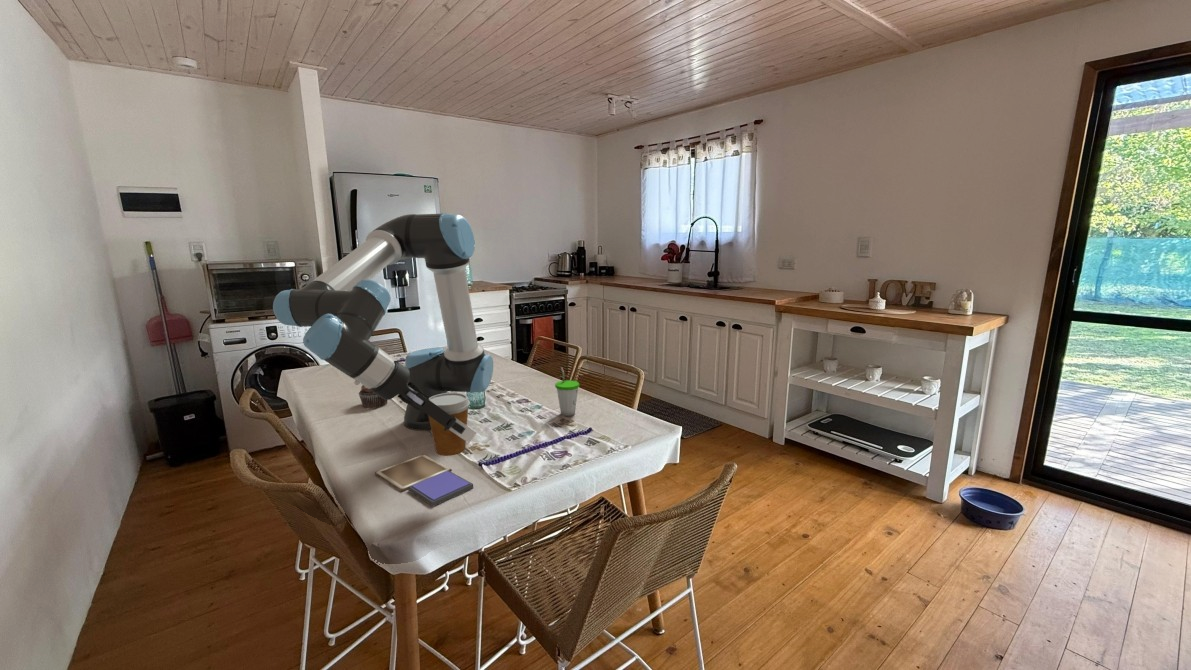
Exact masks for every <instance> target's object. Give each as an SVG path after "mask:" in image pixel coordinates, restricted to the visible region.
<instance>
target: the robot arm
mask: <svg viewBox="0 0 1191 670" xmlns="http://www.w3.org/2000/svg"><path fill="white" fill-rule="evenodd" d="M471 226H472V225H470V223H469V221H468V220H467V219H466V218H465V216H462V215H460V214H455V213H454V214H453V213H452V214H451V213H447V212H446V213H424V214H423V213H422V214H421V213H420V214H413V213H411V214H403V215H400V216H397V217H396V218H393V219H390V220H389V221H386V222H384V223H383V224H380V225H379V226H378V227H376V228H374V229H373V230H372V231H370V232H369V233H368V234H367V235H366V239H365V241H364V242H363V243H361V244H359V246H357V247H356V248H355V249H353V250H352V251H351V252H349V253H347V254H346V256H344V257H343V258H342V259H341V258H340V260H338V261H337V262H336V263H334V264H333V265H332V266H330V268H328V269H326V270H325V271H323V273H321V274H320V275H318V276H317V277H316V278H314V279H313V280H311V281H310V282H308V283H307V284H305V285H304V286H303V287H301V288H300V289H296V288H291V289H286V290H285V289H284V290H282V291H280V292H279V293H277V294H276V296H275V297H274V300H273V304H272V310H273V311H272V312H273V314H274V316H275V317H276V320H277V321H278V322H279V323H280V324H282V325H285V326H290V327H291V326H294V327H299V328H303V327H305V328H306V327H309V328H308V329H307V331H306V332H305V334H304V335H303V339H302V343H303V345H304V347H305V348H306V349H308V350H309V351H310V352H311V353H312V354H314V355H316V357H318V358H319V359H320V360H322V361H324V362H326V363H328V364H329V365H331V366H332V367H334V368H336V369H337V370H338V371H340V372H342V373H343V374H344V375H346V376H348V377H350V378H352V379H353V380H354V382H353V384H354V385H356V386H358V385H360V384H361V386H362V385H363V386H365V387H366V388H368V389H370V388H371V390H372V392H373V393H375V394H377V395H378V396H380V397H381V398H383V399H384V400H387V401H388V400H392V399H394V398H395V397H397V398H399V399H400V401H402V402H404V403H405V404H407V405H406V409H405V412H404V417H403V420H404V421H403V422H404V423H403V424H404V426H405V428H407V429H410V430H414V431H415V430H417V431H427V430H431V426H430V421H429V416H430V417H432V418H433V419H435V420H436V421H437V422H439V423H440V424H442V425H443V426H445V429H444V431H447V430H448V429H449V430H450V431H452V432H453V433H455V434H456V435H458V436H459V437H461V438H462V439H464V440H465V441H466V442H467V443H468V444H470V442H471V441H472V440H473V439H474V437H475V436H476V435H477V431H475V430H474V429H472V428H471V427H470V426H469V425H468V424H467V425H465V424H464V423H462V422H461V421H459V420H458V419H457V418H455V417H454V416H451V415H450V414H448V413H447V412H445V411H444V410H443V409H441V408H440V407H438V406H437V405H436V404H434V403H433V402H431V401H430V400H429V398H430V397H432V396H435V395H438V394H443V393H448V392H453V393H470V394H473V393H483V392H486V390H487V389H488V388H489V386H490V384H491V382H492V378H493V374H494V359H493V357H492V355H491V354H488V353H485V350H484V346H483V345H482V344H481V343H479V342H478V338H477V332H476V326H475V320H474V314H473V309H472V302H471V297H470V295H471V294H470V290H469V285H468V284H469V283H468V278H467V271H466V267H467V266H468V264H469V263H470V258H472V257H473V255H474V253H475V248H476V247H475V244H476V243H475V236H474V232H473V229H472V227H471ZM405 259H424V263H425V267H426V268H427V269H428V270H429V271H431V272H432V273H433V277H434V283H435V287H436V292H437V298H438V303H439V308H440V313H441V317H442V323H443V328H444V334H445V338H446V343H447V349H446V350H445V349H444V348H443V347H441V346H436V347H428V348H424V349H418V350H415V351H413V352H412V351H411V352H410V353H408V354H407V355H406V356H405V360H404V363H405V364H404V365H403V364H402V363H400V362H399V361H397V360H395V359H394V357H392V356H391V355H390V354H388V353H387V352H386V351H384V350H383V349H381V348H380V347H379V346H377V345H376V344H374V343H373V342H372V341H371V340H370V339H371V338H372V336H373V334H374V332H375V330H376V329H377V327H378V325H379V324H380V322H381V321H382V319H383V317H384V316H385V315H386V312H387V309H388V308H389V305H390V303H391V294H390V292H389V290H388V289H387V288H386V287H385V286H384V285H383V284H382V283H380V282H378V281H376V280H373V278H375V277H376V275H377V274H379V273H380V272H381V271H382V270H384V269H385V268H386V267H387V266H392V265H395V264H397V263H398V262H399V261H401V260H405ZM428 415H429V416H428Z"/></svg>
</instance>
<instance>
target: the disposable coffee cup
mask: <svg viewBox="0 0 1191 670" xmlns="http://www.w3.org/2000/svg"><path fill="white" fill-rule="evenodd" d="M429 400H430V401H431V402H433V403H434V404H436V405H437V406H438V407H440V408H441V409H443V410H444V411H445V412H447V413H448V414H450V415H451V416H454V417H455V418H457V419H458V420H459V421H461V422H462V423H464V424H465V425H467V426H468V415H469V412H468V411H469V407H470V405H471V400H469V397H468V395H467V394H464V393H463V392H447V393H443V394H438V395H435V396H432V397H430V398H429ZM428 416H429V415H428ZM429 421H430V426H431V429H430V430H431V435H432V439H433V443H434V444H433V445H434V447H435V452H436V454H437V455H439V456H443V457H444V456H445V457H451V456H456V455H460V454H461V453H463V452H464V451H465V450H466V446H467V443H466V442H467V441H465V440H464V439H462V438H461V437H459V436H458V435H456V434H455V433H453V432H452V431H450V430H449V429H448V430H447V431H444V429H445V426H443V425H442V424H440V423H439V422H437V421H436V420H435V419H433V418H432V417H430V416H429Z"/></svg>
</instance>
